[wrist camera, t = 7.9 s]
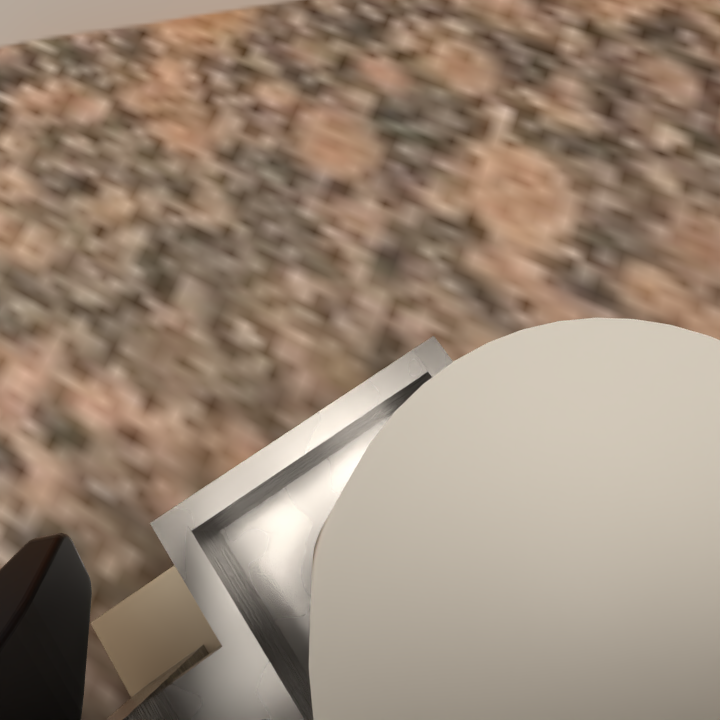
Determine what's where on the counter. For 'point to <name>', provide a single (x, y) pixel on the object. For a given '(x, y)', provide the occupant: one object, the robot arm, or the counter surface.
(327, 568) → the white tall cylinder
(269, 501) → the cup bracket
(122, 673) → the mounting board
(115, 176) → the counter surface
